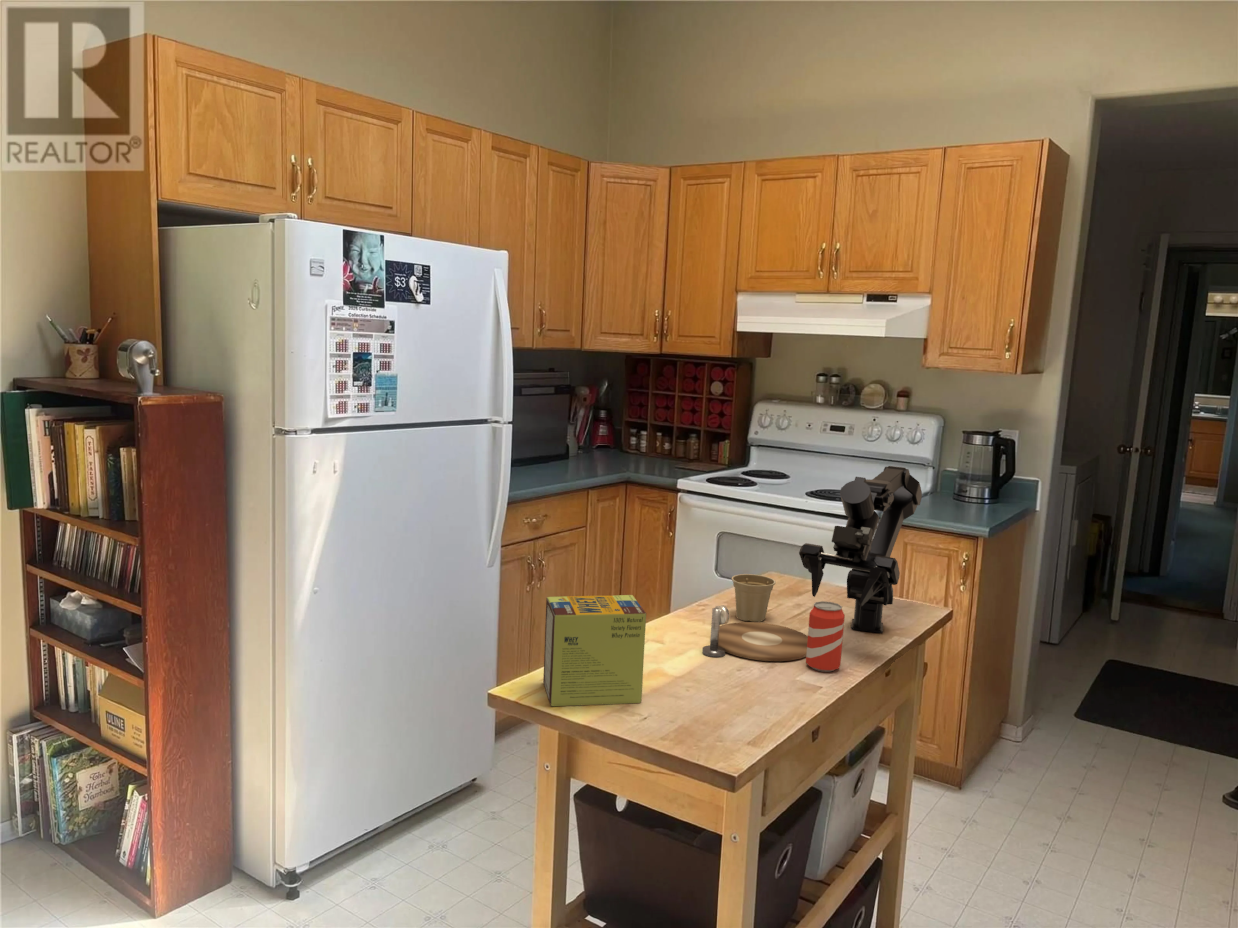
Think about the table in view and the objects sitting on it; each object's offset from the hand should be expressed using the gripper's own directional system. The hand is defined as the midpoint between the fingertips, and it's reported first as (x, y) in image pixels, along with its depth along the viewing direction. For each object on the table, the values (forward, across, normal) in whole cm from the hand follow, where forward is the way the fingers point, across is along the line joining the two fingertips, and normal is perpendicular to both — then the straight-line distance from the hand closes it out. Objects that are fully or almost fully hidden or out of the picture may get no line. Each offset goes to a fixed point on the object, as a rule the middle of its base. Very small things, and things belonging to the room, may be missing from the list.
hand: (836, 600), depth 172 cm
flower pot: (-1, -22, +18) cm, 29 cm away
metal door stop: (+16, -20, 0) cm, 25 cm away
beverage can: (+12, 0, +5) cm, 13 cm away
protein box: (+38, -28, -21) cm, 52 cm away
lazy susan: (+9, -14, +8) cm, 18 cm away
